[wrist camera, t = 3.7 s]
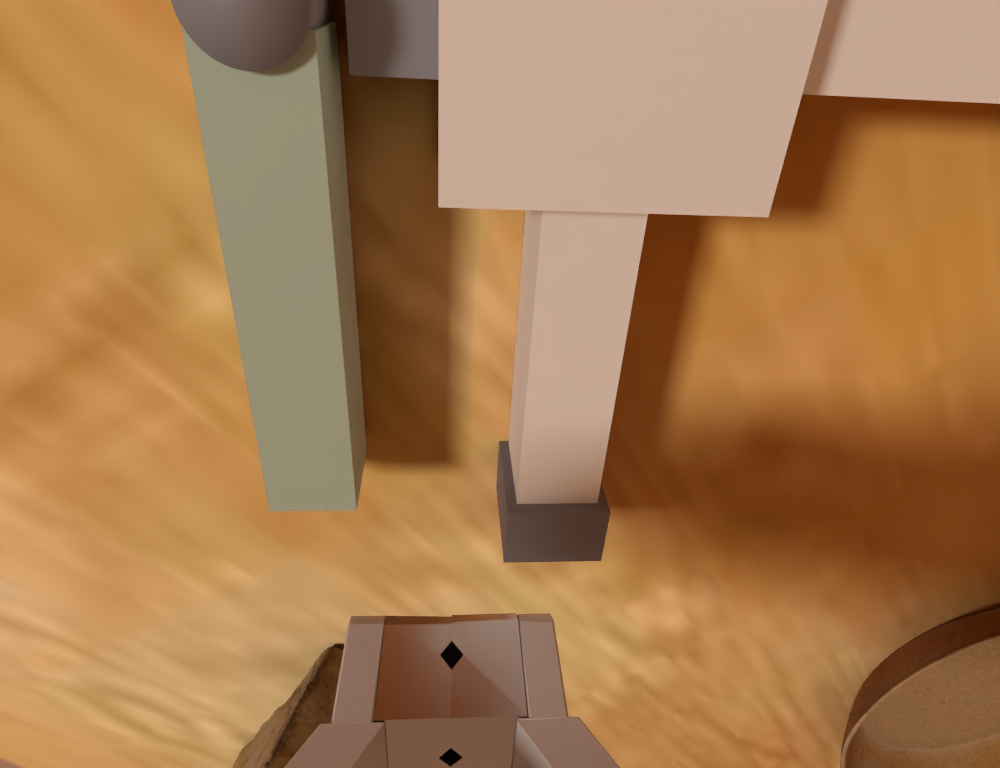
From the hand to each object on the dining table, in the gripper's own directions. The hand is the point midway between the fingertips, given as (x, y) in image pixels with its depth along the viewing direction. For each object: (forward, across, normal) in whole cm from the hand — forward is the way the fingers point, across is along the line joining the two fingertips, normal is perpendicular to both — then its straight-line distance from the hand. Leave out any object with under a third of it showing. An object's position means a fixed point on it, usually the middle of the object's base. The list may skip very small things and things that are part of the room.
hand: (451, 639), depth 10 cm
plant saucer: (+12, -25, +19) cm, 34 cm away
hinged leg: (+10, +4, -2) cm, 11 cm away
